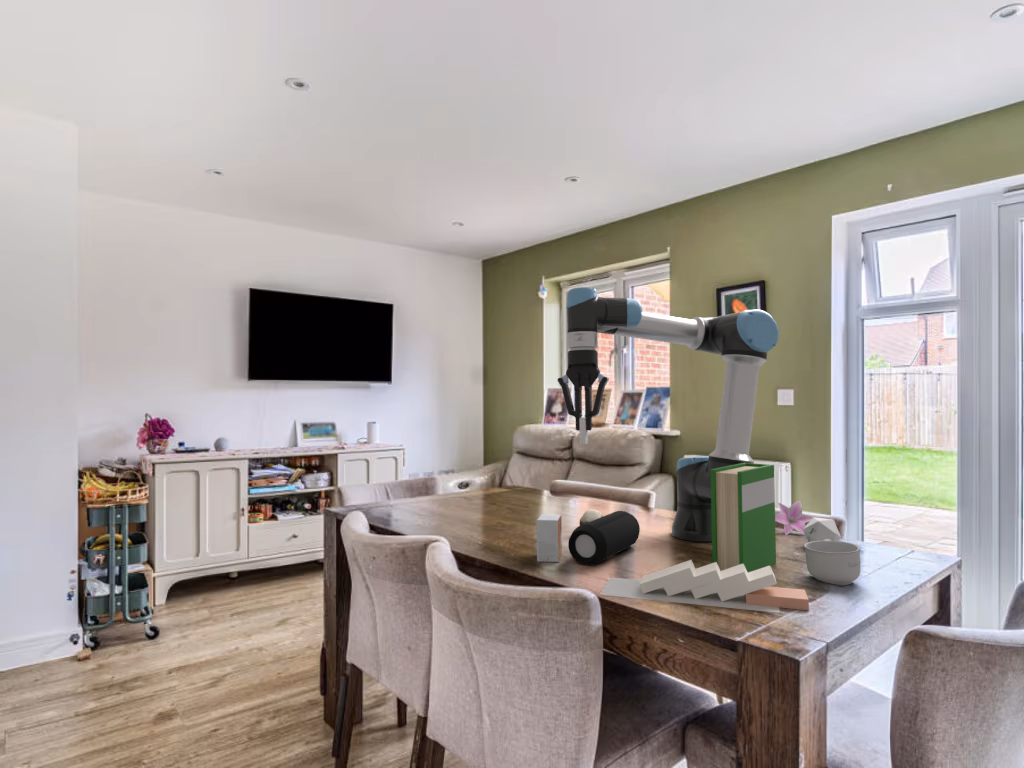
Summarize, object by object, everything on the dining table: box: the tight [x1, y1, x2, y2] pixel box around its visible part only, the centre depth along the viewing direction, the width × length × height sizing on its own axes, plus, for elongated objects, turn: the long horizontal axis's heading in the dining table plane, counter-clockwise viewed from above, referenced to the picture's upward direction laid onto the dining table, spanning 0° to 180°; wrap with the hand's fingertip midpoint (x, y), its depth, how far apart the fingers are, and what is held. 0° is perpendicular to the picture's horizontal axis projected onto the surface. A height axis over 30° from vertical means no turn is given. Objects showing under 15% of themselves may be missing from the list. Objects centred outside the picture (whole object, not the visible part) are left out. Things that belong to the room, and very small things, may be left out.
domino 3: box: [691, 564, 749, 599], centre depth 120 cm, size 2×6×11 cm
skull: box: [579, 509, 604, 526], centre depth 176 cm, size 12×10×10 cm
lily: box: [775, 500, 813, 536], centre depth 176 cm, size 11×11×9 cm
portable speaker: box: [567, 510, 641, 566], centre depth 154 cm, size 26×10×10 cm, turn 146°
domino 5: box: [745, 586, 810, 611], centre depth 117 cm, size 2×6×11 cm
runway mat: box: [599, 577, 781, 614], centre depth 122 cm, size 34×12×1 cm, turn 70°
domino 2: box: [664, 562, 721, 596], centre depth 122 cm, size 2×6×11 cm
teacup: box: [803, 539, 861, 586], centre depth 132 cm, size 14×11×8 cm
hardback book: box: [711, 462, 777, 572], centre depth 141 cm, size 18×7×24 cm, turn 134°
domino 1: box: [639, 559, 696, 594], centre depth 124 cm, size 2×6×11 cm
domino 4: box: [717, 565, 778, 601], centre depth 119 cm, size 2×6×11 cm
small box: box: [535, 513, 563, 563], centre depth 152 cm, size 8×6×10 cm
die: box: [803, 516, 842, 543], centre depth 158 cm, size 8×9×10 cm
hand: (583, 443), depth 149 cm, fingers closed
